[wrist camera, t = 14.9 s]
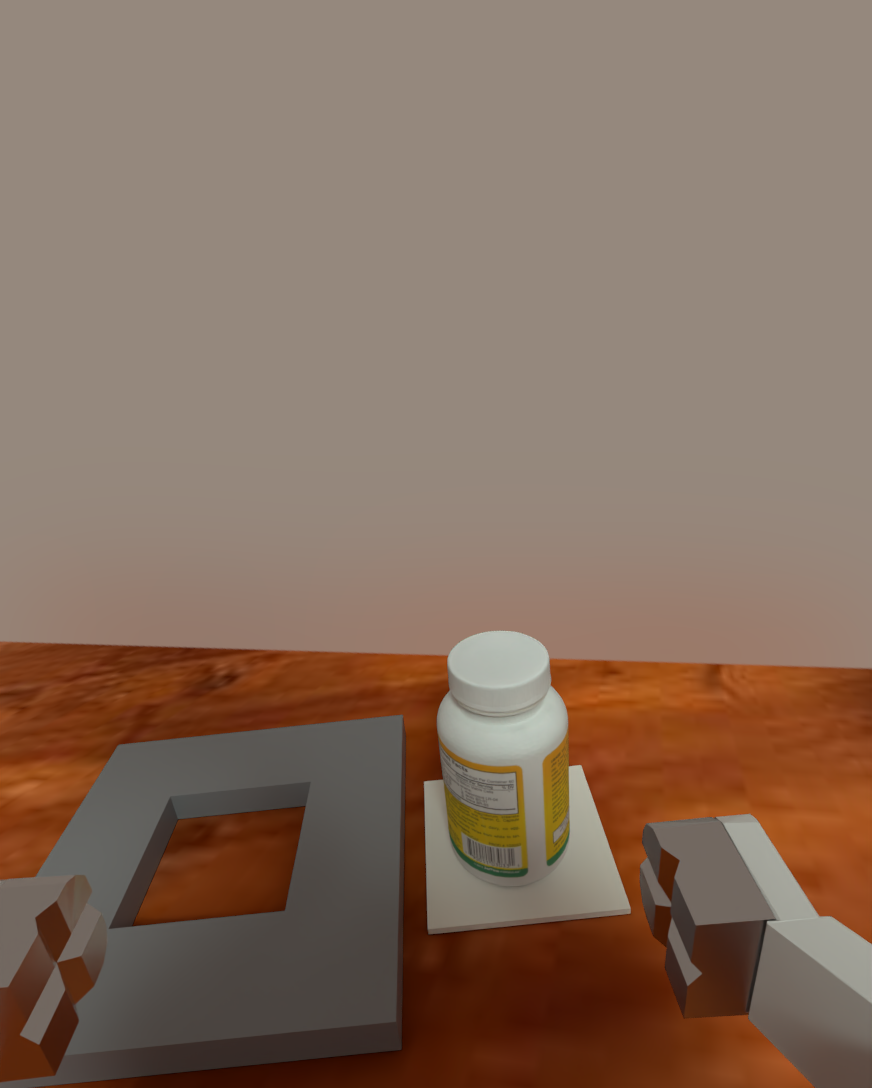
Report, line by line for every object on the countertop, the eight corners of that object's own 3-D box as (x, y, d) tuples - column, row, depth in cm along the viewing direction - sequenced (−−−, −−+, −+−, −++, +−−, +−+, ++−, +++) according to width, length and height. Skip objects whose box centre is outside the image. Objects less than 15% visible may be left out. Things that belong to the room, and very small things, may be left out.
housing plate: (-69, 1097, 22) (-87, 1070, 21) (126, 765, 36) (118, 744, 36) (401, 1049, 22) (396, 1021, 21) (405, 736, 36) (402, 714, 36)
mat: (428, 934, 25) (427, 929, 25) (424, 786, 33) (423, 781, 33) (630, 913, 25) (630, 908, 25) (581, 769, 33) (581, 765, 33)
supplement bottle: (478, 910, 26) (456, 715, 22) (434, 815, 30) (410, 641, 27) (595, 863, 27) (593, 672, 23) (536, 779, 32) (527, 610, 28)
